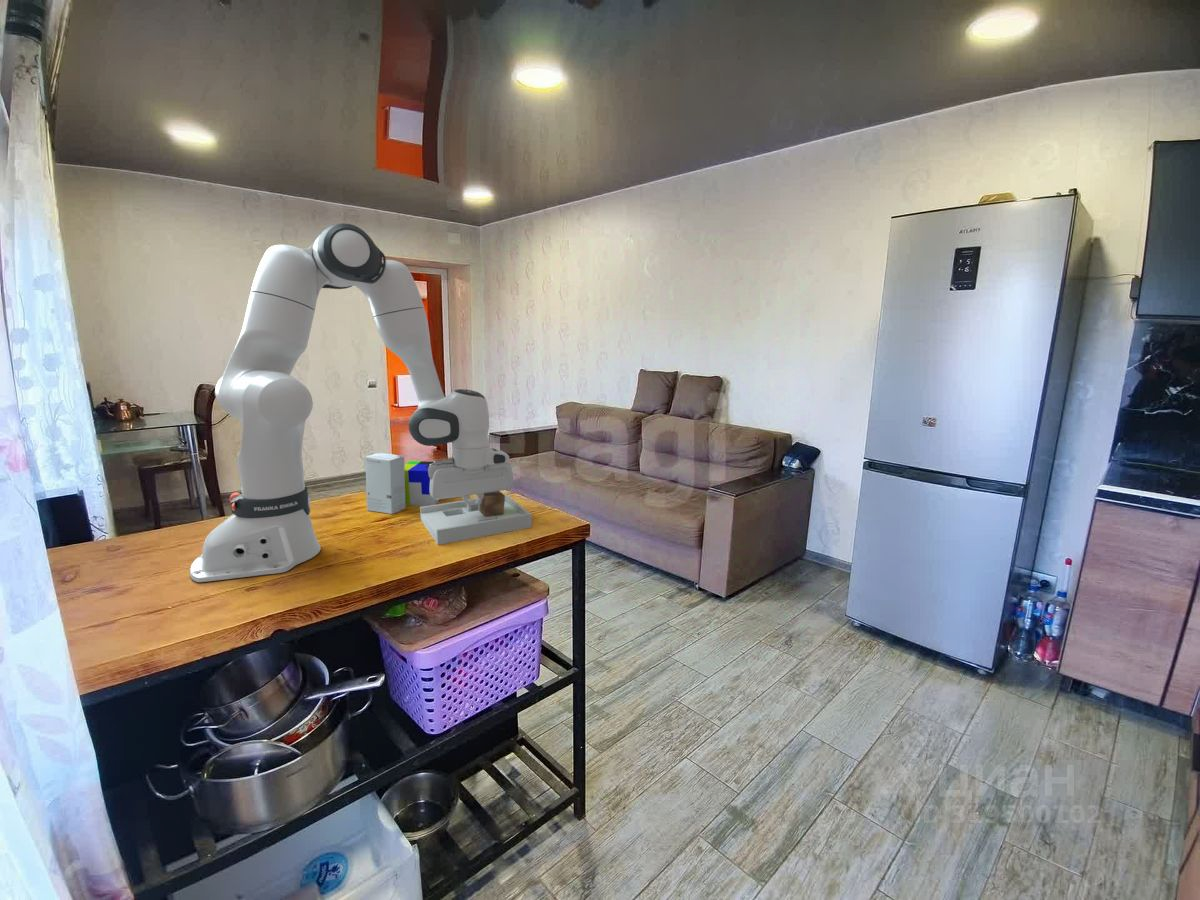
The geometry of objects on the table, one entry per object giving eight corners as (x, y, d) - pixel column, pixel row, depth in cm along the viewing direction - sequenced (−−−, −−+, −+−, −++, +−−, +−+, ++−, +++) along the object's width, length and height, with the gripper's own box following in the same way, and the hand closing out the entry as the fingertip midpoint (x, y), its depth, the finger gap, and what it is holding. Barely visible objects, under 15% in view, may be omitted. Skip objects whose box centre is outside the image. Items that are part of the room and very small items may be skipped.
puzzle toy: (434, 506, 141) (432, 471, 139) (398, 505, 141) (395, 470, 139) (445, 494, 151) (444, 461, 149) (412, 493, 151) (409, 461, 149)
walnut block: (484, 515, 128) (485, 496, 127) (478, 509, 132) (479, 491, 131) (503, 514, 130) (504, 495, 129) (496, 508, 134) (497, 489, 134)
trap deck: (438, 544, 116) (437, 530, 115) (420, 520, 131) (420, 506, 130) (531, 527, 127) (531, 514, 127) (506, 506, 142) (505, 494, 141)
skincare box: (366, 511, 136) (361, 456, 133) (382, 504, 142) (378, 451, 138) (393, 514, 134) (389, 459, 130) (408, 507, 140) (404, 454, 136)
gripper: (430, 464, 117) (433, 521, 120) (515, 455, 127) (516, 508, 130) (424, 458, 122) (427, 513, 125) (506, 450, 133) (507, 501, 136)
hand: (473, 510), depth 128 cm, fingers closed
